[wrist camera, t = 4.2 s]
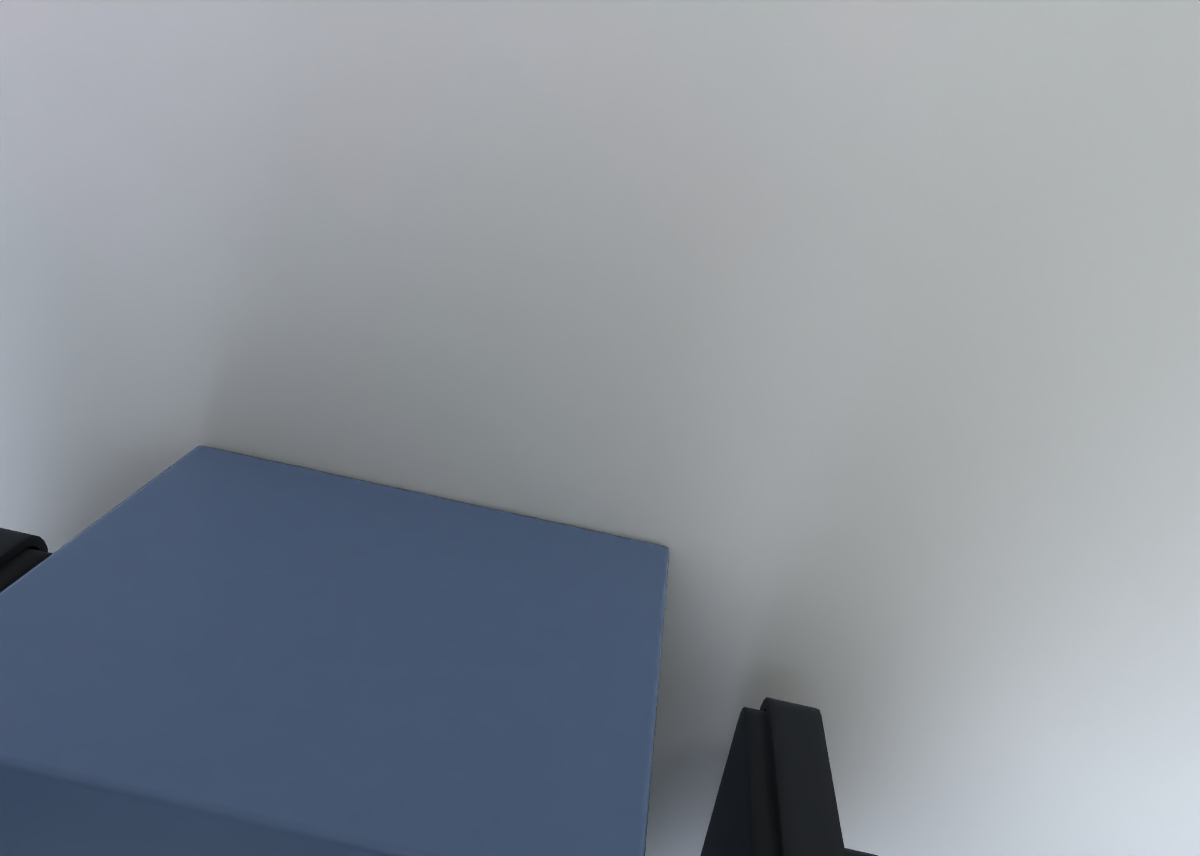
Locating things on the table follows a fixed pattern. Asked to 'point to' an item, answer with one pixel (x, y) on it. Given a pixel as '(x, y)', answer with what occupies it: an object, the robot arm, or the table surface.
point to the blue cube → (327, 676)
